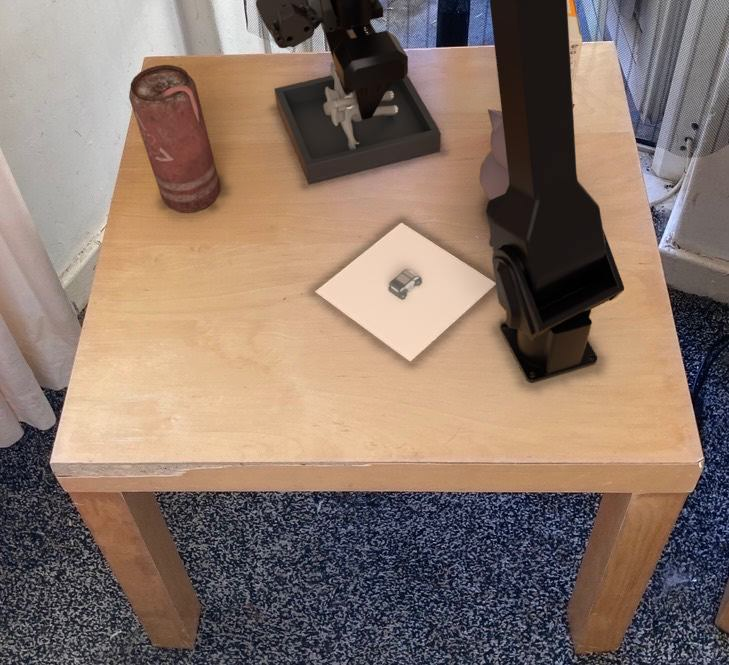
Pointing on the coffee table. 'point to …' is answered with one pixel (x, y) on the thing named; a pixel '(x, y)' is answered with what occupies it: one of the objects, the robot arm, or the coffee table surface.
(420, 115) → the tray
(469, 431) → the coffee table surface
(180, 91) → the can
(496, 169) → the cat figurine
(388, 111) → the elephant figurine
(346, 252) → the coffee table surface
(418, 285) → the cream square coaster
